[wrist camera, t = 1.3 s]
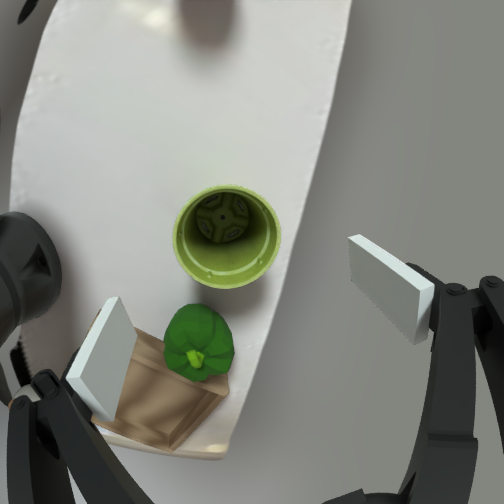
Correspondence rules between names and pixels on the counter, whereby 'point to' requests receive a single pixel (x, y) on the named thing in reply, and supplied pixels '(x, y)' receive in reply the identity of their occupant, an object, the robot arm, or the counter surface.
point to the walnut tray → (161, 398)
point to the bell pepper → (198, 343)
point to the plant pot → (226, 237)
